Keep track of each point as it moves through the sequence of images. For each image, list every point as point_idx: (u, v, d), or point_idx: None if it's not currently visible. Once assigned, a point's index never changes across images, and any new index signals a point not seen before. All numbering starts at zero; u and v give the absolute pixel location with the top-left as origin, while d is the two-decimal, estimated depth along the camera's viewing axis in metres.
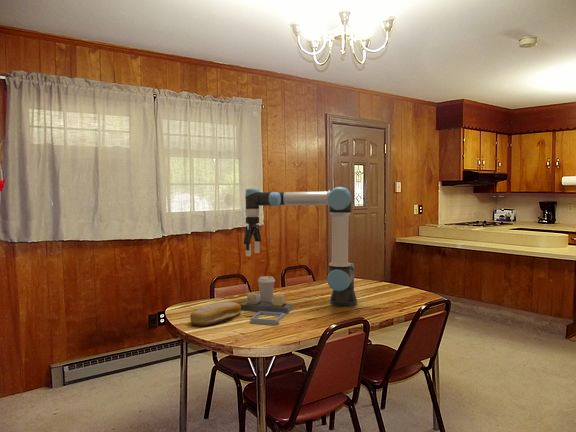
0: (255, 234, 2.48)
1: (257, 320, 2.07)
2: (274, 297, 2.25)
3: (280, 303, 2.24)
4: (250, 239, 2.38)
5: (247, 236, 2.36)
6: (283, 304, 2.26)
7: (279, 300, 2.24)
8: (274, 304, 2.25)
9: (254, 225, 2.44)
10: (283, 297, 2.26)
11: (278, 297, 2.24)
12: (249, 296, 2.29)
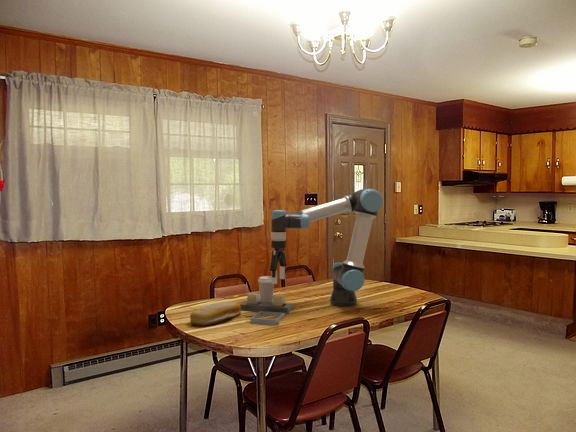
0: (281, 259, 2.29)
1: (257, 320, 2.07)
2: (274, 297, 2.25)
3: (280, 303, 2.24)
4: (276, 265, 2.19)
5: (273, 262, 2.17)
6: (283, 304, 2.26)
7: (279, 300, 2.24)
8: (274, 304, 2.25)
9: (280, 249, 2.25)
10: (283, 297, 2.26)
11: (278, 297, 2.24)
12: (249, 296, 2.29)
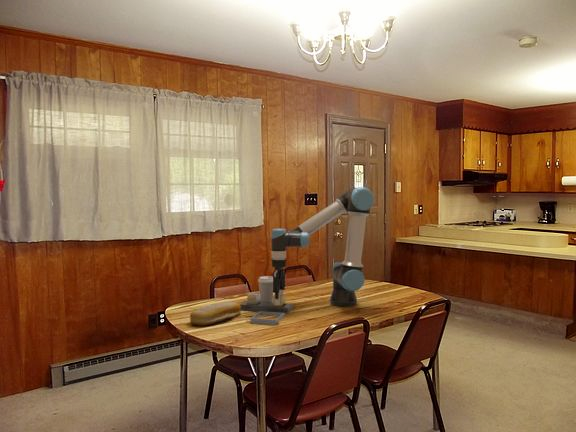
0: (280, 279, 2.28)
1: (257, 320, 2.07)
2: (274, 297, 2.25)
3: (280, 303, 2.24)
4: (279, 286, 2.23)
5: (276, 284, 2.20)
6: (283, 304, 2.26)
7: None
8: (274, 304, 2.25)
9: (280, 268, 2.26)
10: (283, 297, 2.26)
11: None
12: (249, 296, 2.29)
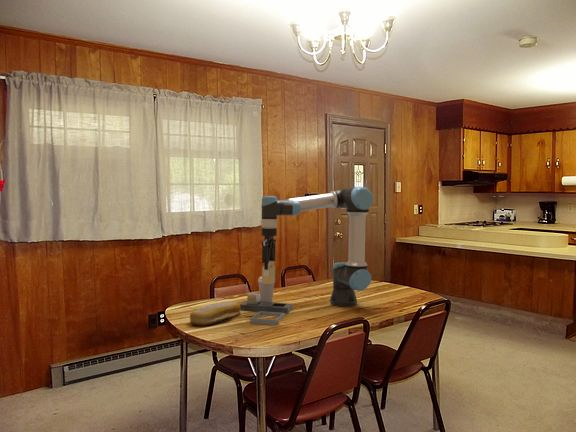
0: (270, 250, 2.16)
1: (257, 320, 2.07)
2: (263, 268, 2.13)
3: None
4: (268, 256, 2.11)
5: (265, 254, 2.08)
6: (273, 276, 2.14)
7: None
8: (263, 275, 2.13)
9: (271, 238, 2.14)
10: (273, 268, 2.14)
11: None
12: (249, 296, 2.29)
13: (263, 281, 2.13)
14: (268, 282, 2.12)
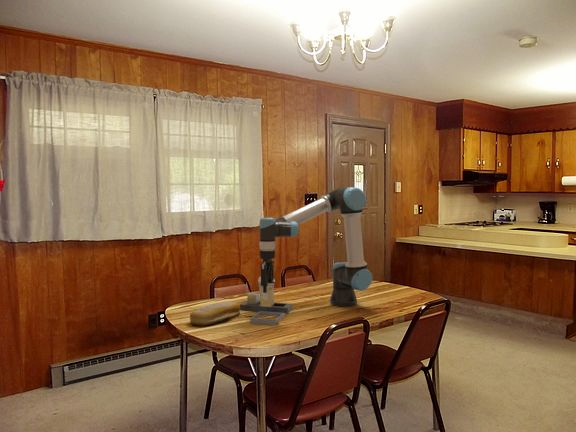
0: (269, 272, 2.14)
1: (257, 320, 2.07)
2: (262, 291, 2.10)
3: (268, 297, 2.10)
4: (267, 279, 2.08)
5: (263, 277, 2.06)
6: (272, 298, 2.11)
7: None
8: (262, 298, 2.10)
9: (269, 260, 2.11)
10: (272, 291, 2.11)
11: None
12: (249, 296, 2.29)
13: (262, 304, 2.11)
14: (267, 305, 2.10)
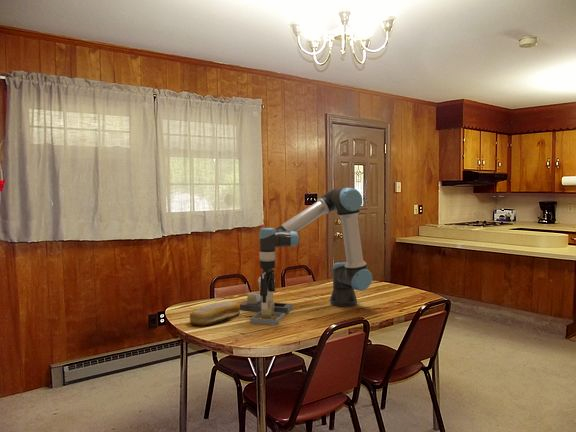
0: (269, 281, 2.14)
1: (257, 320, 2.07)
2: None
3: (268, 311, 2.10)
4: (267, 289, 2.08)
5: (263, 287, 2.05)
6: (272, 312, 2.12)
7: None
8: (262, 312, 2.11)
9: (269, 270, 2.12)
10: (272, 304, 2.12)
11: None
12: (249, 296, 2.29)
13: (262, 318, 2.11)
14: None
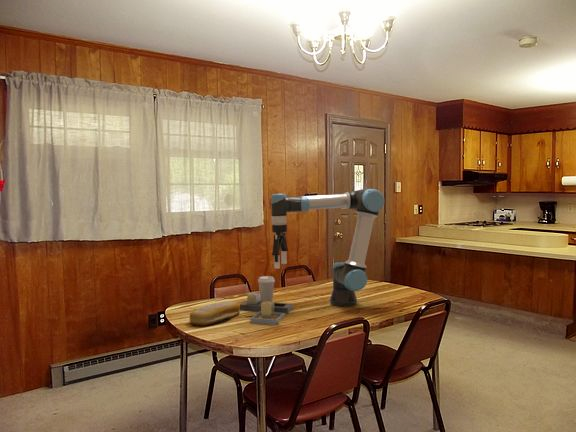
0: (282, 243, 2.26)
1: (257, 320, 2.07)
2: (262, 304, 2.11)
3: (268, 311, 2.10)
4: (279, 249, 2.16)
5: (276, 246, 2.14)
6: (272, 312, 2.12)
7: (267, 307, 2.10)
8: (262, 312, 2.11)
9: (281, 234, 2.22)
10: (272, 304, 2.12)
11: (267, 304, 2.10)
12: (249, 296, 2.29)
13: (262, 318, 2.11)
14: None
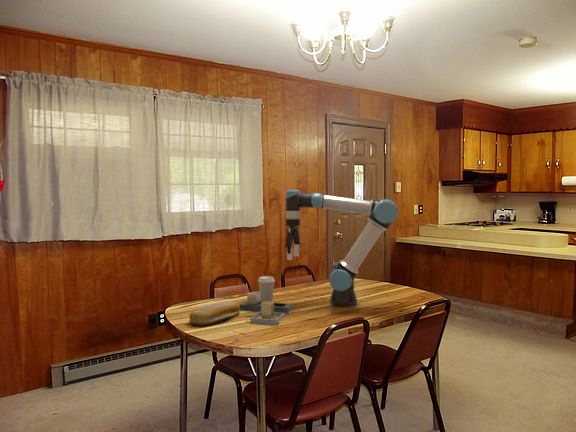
0: (295, 237, 2.40)
1: (257, 320, 2.07)
2: (262, 304, 2.11)
3: (268, 311, 2.10)
4: (291, 242, 2.30)
5: (289, 239, 2.28)
6: (272, 312, 2.12)
7: (267, 307, 2.10)
8: (262, 312, 2.11)
9: (294, 228, 2.36)
10: (272, 304, 2.12)
11: (267, 304, 2.10)
12: (249, 296, 2.29)
13: (262, 318, 2.11)
14: None
